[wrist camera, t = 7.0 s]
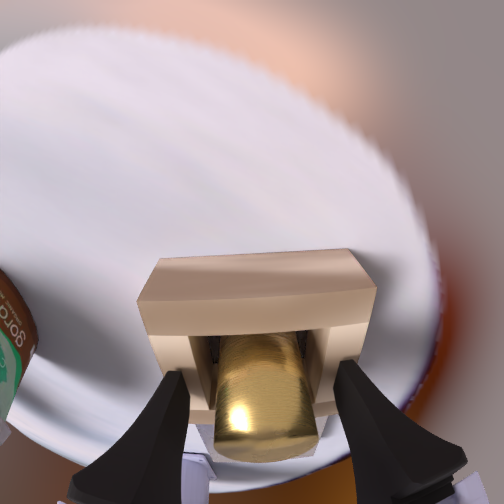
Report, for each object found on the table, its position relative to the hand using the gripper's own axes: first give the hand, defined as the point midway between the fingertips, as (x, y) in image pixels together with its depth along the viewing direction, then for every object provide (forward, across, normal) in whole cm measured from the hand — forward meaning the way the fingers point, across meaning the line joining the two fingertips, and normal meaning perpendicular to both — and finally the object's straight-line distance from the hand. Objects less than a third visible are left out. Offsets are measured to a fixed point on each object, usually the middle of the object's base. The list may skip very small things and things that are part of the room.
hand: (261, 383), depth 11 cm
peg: (+4, 0, 0) cm, 4 cm away
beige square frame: (+4, 0, 0) cm, 4 cm away
